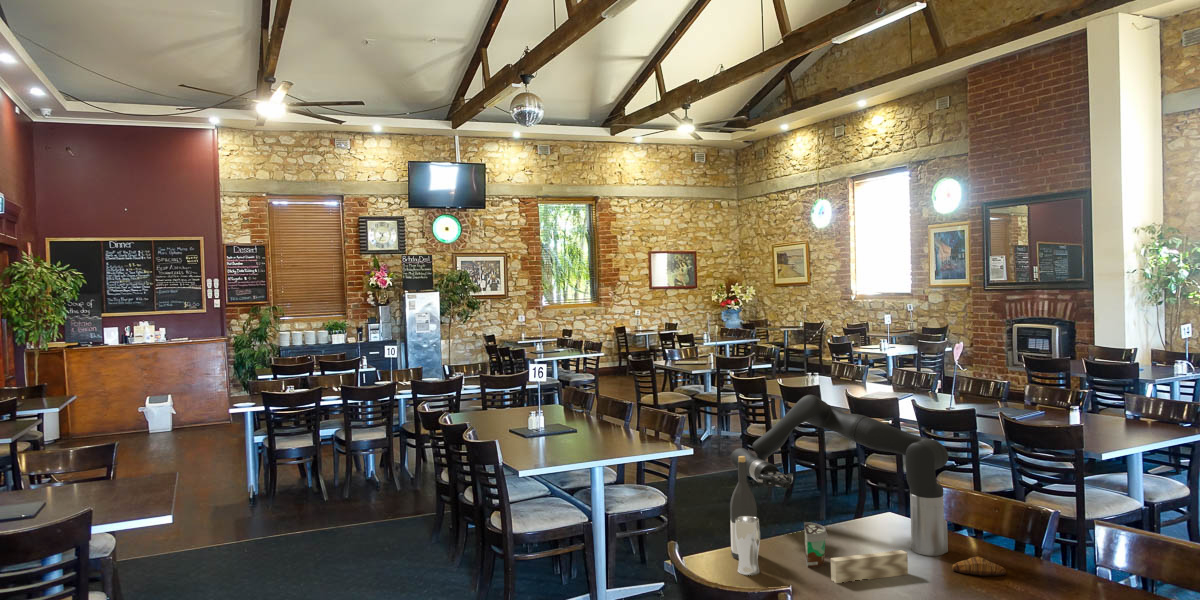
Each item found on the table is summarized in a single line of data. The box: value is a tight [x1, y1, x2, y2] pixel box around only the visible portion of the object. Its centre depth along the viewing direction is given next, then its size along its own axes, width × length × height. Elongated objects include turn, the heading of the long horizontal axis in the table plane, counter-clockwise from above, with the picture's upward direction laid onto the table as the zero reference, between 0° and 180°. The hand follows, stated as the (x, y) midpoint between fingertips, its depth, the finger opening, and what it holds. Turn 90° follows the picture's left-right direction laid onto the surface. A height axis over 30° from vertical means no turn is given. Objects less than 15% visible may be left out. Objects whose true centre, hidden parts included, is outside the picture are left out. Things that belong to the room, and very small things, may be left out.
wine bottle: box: [729, 456, 758, 560], centre depth 221 cm, size 8×8×30 cm
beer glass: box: [735, 516, 761, 576], centre depth 209 cm, size 7×7×15 cm
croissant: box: [951, 556, 1007, 577], centre depth 203 cm, size 14×7×5 cm, turn 75°
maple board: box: [830, 550, 909, 584], centre depth 202 cm, size 22×2×6 cm, turn 102°
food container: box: [803, 521, 828, 569], centre depth 214 cm, size 12×6×10 cm, turn 168°
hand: (787, 485), depth 231 cm, fingers closed
